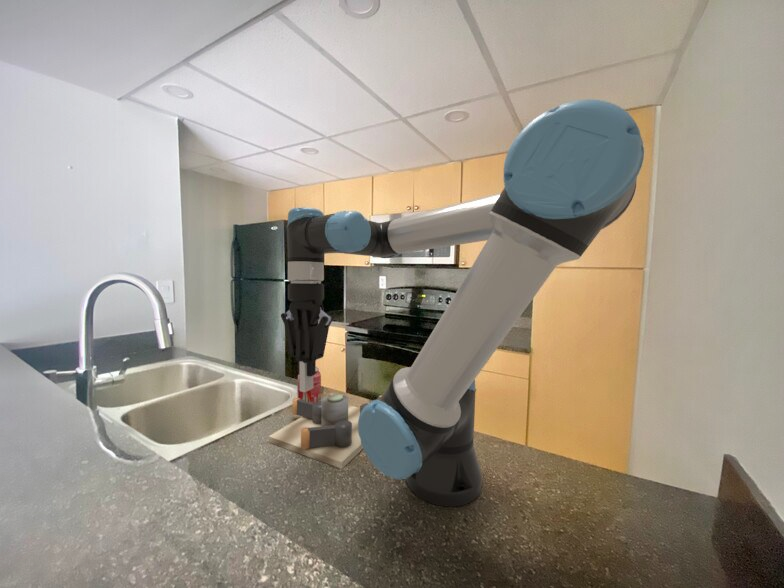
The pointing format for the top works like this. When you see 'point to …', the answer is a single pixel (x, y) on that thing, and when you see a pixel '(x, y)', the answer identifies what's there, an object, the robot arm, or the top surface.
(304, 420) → the tribrach board
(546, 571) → the top surface
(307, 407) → the knob
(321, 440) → the knob
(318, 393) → the soda can
